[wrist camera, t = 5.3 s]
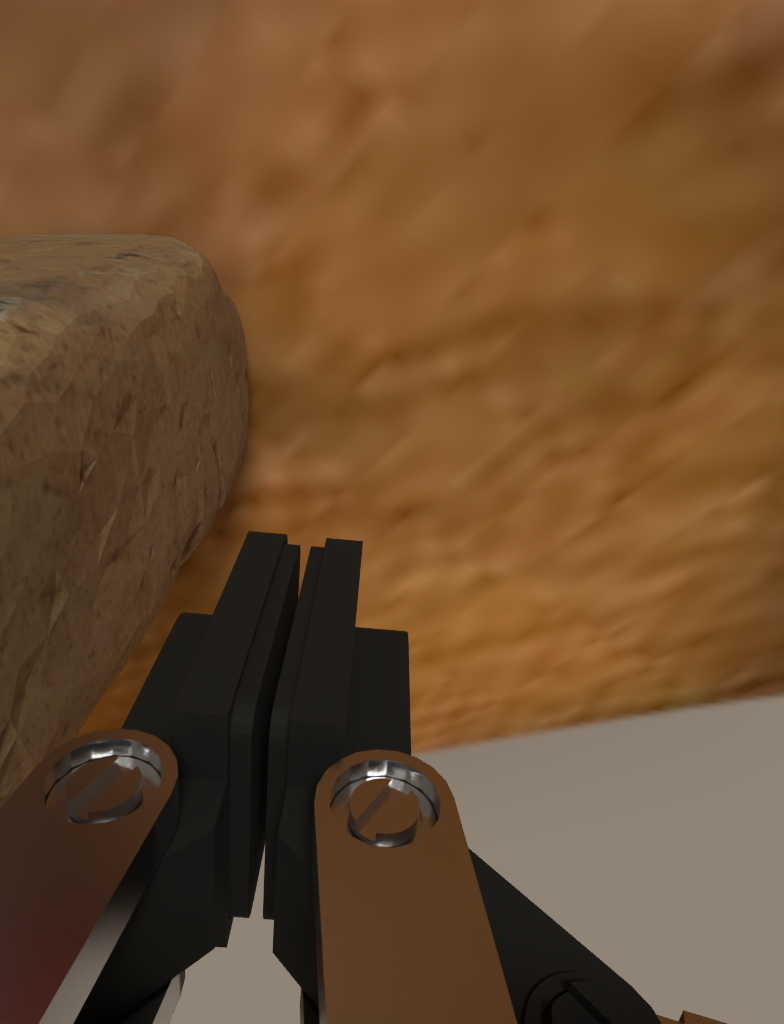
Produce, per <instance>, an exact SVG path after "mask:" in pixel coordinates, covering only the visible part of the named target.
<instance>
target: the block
mask: <svg viewBox="0 0 784 1024" xmlns="http://www.w3.org/2000/svg"><path fill="white" fill-rule="evenodd" d="M248 418H249V393H248V380H247V365H246V349H245V339H244V333H243V329H242V324H241V320H240V317H239V314H238V312H237V309H236V307H235V304H234V303H233V302H232V300H231V299H230V297H229V296H228V295H227V294H226V292H225V291H224V290H223V289H222V288H221V287H220V284H219V282H218V279H217V277H216V274H215V272H214V270H213V268H212V266H211V265H210V263H209V261H208V259H207V258H206V257H205V256H203V255H202V254H200V253H199V252H198V251H196V250H195V249H194V248H192V247H190V246H189V245H187V244H185V243H183V242H182V241H180V240H178V239H176V238H174V237H170V236H159V235H148V234H124V233H107V234H40V235H22V236H11V237H0V808H1V807H2V806H3V805H4V803H5V802H6V801H7V800H8V799H9V797H10V796H11V795H12V794H13V793H14V792H15V790H16V789H17V788H18V787H19V786H20V784H21V783H22V782H23V781H24V780H25V778H26V777H27V776H28V775H29V774H30V773H31V771H32V770H33V769H34V768H35V767H36V765H37V764H38V763H40V762H41V761H42V760H43V759H44V758H45V757H46V756H47V755H48V754H49V753H51V752H52V751H53V750H54V749H56V748H58V747H60V746H61V745H63V744H65V743H67V742H68V741H70V740H72V739H73V738H74V737H75V736H76V735H77V733H78V732H79V730H80V729H81V727H82V726H83V724H84V723H85V721H86V720H87V718H88V716H89V715H90V713H91V712H92V710H93V709H94V707H95V706H96V704H97V703H98V701H99V700H100V698H101V697H102V695H103V694H104V692H105V691H106V689H107V688H108V687H109V686H110V685H111V683H112V682H113V681H114V680H115V679H116V677H117V676H118V674H119V673H120V671H121V670H122V668H123V667H124V665H125V664H126V662H127V661H128V659H129V658H130V656H131V655H132V653H133V651H134V650H135V648H136V647H137V645H138V644H139V642H140V641H141V639H142V637H143V636H144V634H145V633H146V631H147V629H148V628H149V626H150V624H151V623H152V621H153V619H154V617H155V616H156V614H157V612H158V611H159V609H160V607H161V606H162V604H163V603H164V601H165V599H166V597H167V595H168V593H169V591H170V589H171V587H172V585H173V583H174V582H175V580H176V578H177V577H178V576H179V567H180V566H181V565H182V564H183V563H184V562H185V561H186V560H187V559H188V558H189V557H190V556H191V555H192V554H193V553H194V551H195V550H196V549H197V548H198V546H199V545H200V543H201V542H202V541H203V539H204V538H205V536H206V535H207V533H208V532H209V531H210V529H211V527H212V525H213V523H214V521H215V519H216V517H217V515H218V514H219V512H220V510H221V508H222V506H223V504H224V502H225V500H226V498H227V496H228V495H229V493H230V491H231V488H232V486H233V484H234V482H235V480H236V478H237V476H238V474H239V472H240V469H241V466H242V462H243V459H244V455H245V450H246V444H247V434H248Z"/></svg>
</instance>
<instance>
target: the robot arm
mask: <svg viewBox="0 0 784 1024" xmlns="http://www.w3.org/2000/svg"><path fill="white" fill-rule="evenodd" d="M362 545H363V541H353V540H342V539H331V538H327V539H326V543H325V548H324V547H313V546H311V549H310V553H309V557H308V561H307V566H306V570H305V574H304V578H303V582H302V587H301V591H300V595H299V599H298V592H299V572H300V545H291V544H288V540H287V535H286V534H275V533H264V532H253V531H249V532H248V534H247V536H246V539H245V541H244V543H243V546H242V548H241V550H240V553H239V555H238V557H237V560H236V562H235V564H234V567H233V569H232V571H231V574H230V576H229V578H228V581H227V583H226V585H225V588H224V590H223V592H222V595H221V597H220V599H219V602H218V604H217V606H216V609H215V611H214V613H213V615H208V614H197V613H185V612H184V613H182V614H180V616H179V617H178V619H177V620H176V622H175V624H174V626H173V628H172V630H171V632H170V634H169V636H168V638H167V640H166V642H165V644H164V646H163V648H162V650H161V652H160V654H159V656H158V658H157V660H156V662H155V663H154V665H153V667H152V669H151V671H150V673H149V675H148V677H147V679H146V681H145V683H144V685H143V687H142V689H141V691H140V693H139V695H138V697H137V699H136V701H135V703H134V705H133V707H132V709H131V711H130V713H129V715H128V717H127V719H126V721H125V723H124V725H123V727H122V728H121V729H111V730H104V731H96V732H92V733H89V734H86V735H83V736H80V737H77V738H74V739H72V740H70V741H68V742H67V743H65V744H63V745H61V746H60V747H58V748H56V749H54V750H53V751H52V752H51V753H49V754H48V755H47V756H46V757H45V758H44V759H43V760H42V761H41V762H40V763H38V764H37V765H36V767H35V768H34V769H33V770H32V771H31V773H30V774H29V775H28V776H27V777H26V778H25V780H24V781H23V782H22V783H21V784H20V786H19V787H18V788H17V789H16V790H15V792H14V793H13V794H12V795H11V796H10V797H9V799H8V800H7V801H6V802H5V803H4V805H3V806H2V807H1V808H0V1024H169V1022H170V1020H171V1017H172V1015H173V1013H174V1010H175V1008H176V1005H177V1003H178V1001H179V998H180V995H181V991H182V988H183V984H184V980H185V969H187V968H188V967H189V966H191V965H192V964H193V963H195V962H196V961H198V960H199V959H200V958H202V957H203V956H204V955H206V954H207V953H209V952H210V951H211V950H213V949H214V948H215V947H227V944H228V939H229V935H230V930H231V926H232V922H233V917H244V918H249V917H250V914H251V909H252V905H253V900H254V895H255V890H256V885H257V881H258V875H259V871H260V866H261V860H262V856H263V851H264V846H265V871H264V902H263V918H264V919H272V920H274V935H273V953H274V954H275V956H276V957H277V958H278V959H279V961H280V962H281V963H282V964H283V966H284V967H285V968H286V969H287V971H288V972H289V973H290V974H291V976H292V977H293V978H294V979H295V980H296V981H297V983H298V984H299V985H300V987H301V997H300V999H301V1000H300V1023H301V1024H726V1023H723V1022H720V1021H717V1020H713V1019H710V1018H707V1017H703V1016H700V1015H697V1014H693V1013H690V1012H687V1011H684V1010H683V1012H682V1015H681V1017H680V1019H679V1022H678V1021H675V1020H672V1019H669V1018H665V1017H662V1016H659V1015H656V1014H655V1012H654V1010H653V1009H652V1007H651V1006H650V1005H649V1004H648V1003H647V1002H646V1001H645V1000H644V999H643V998H642V997H641V996H640V995H639V994H638V993H637V992H636V991H635V990H634V988H633V987H632V986H631V985H629V984H628V983H627V982H626V981H624V979H622V978H621V977H620V976H619V975H618V974H616V973H615V972H614V971H613V970H612V969H611V968H609V967H608V966H607V965H606V964H604V963H603V962H602V961H601V960H600V959H599V958H597V957H596V956H595V955H594V954H593V953H591V952H590V951H589V950H588V949H587V948H586V947H584V946H583V945H582V944H581V943H580V942H579V941H577V940H576V939H575V938H574V937H573V936H572V935H570V934H569V933H568V932H567V931H566V930H565V929H563V928H562V927H561V926H560V925H559V924H557V923H556V922H555V921H554V920H553V919H552V918H550V917H549V916H548V915H547V914H546V913H544V912H543V911H542V910H541V909H540V908H539V907H537V906H536V905H535V904H534V903H533V902H531V901H530V900H529V899H528V898H527V897H525V896H524V895H523V894H522V893H521V892H520V891H518V890H517V889H516V888H515V887H514V886H512V885H511V884H510V883H509V882H508V881H507V880H505V879H504V878H503V877H502V876H501V875H499V874H498V873H497V872H496V871H495V870H494V869H492V868H491V867H490V866H489V865H487V863H485V862H484V861H483V860H482V859H481V858H479V857H478V856H477V855H476V854H475V853H473V852H472V851H471V850H470V849H469V848H468V846H467V842H466V839H465V835H464V832H463V828H462V824H461V821H460V817H459V814H458V811H457V807H456V803H455V799H454V797H453V795H452V792H451V790H450V789H449V786H448V784H447V782H446V781H445V780H444V779H443V778H442V776H440V774H439V773H438V772H437V771H436V770H435V769H434V768H433V767H431V766H430V765H428V764H426V763H425V762H423V761H421V760H420V759H418V758H416V757H414V756H411V731H410V689H409V647H408V633H407V632H406V631H395V630H383V629H371V628H360V627H355V623H356V612H357V601H358V590H359V578H360V567H361V556H362Z"/></svg>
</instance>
